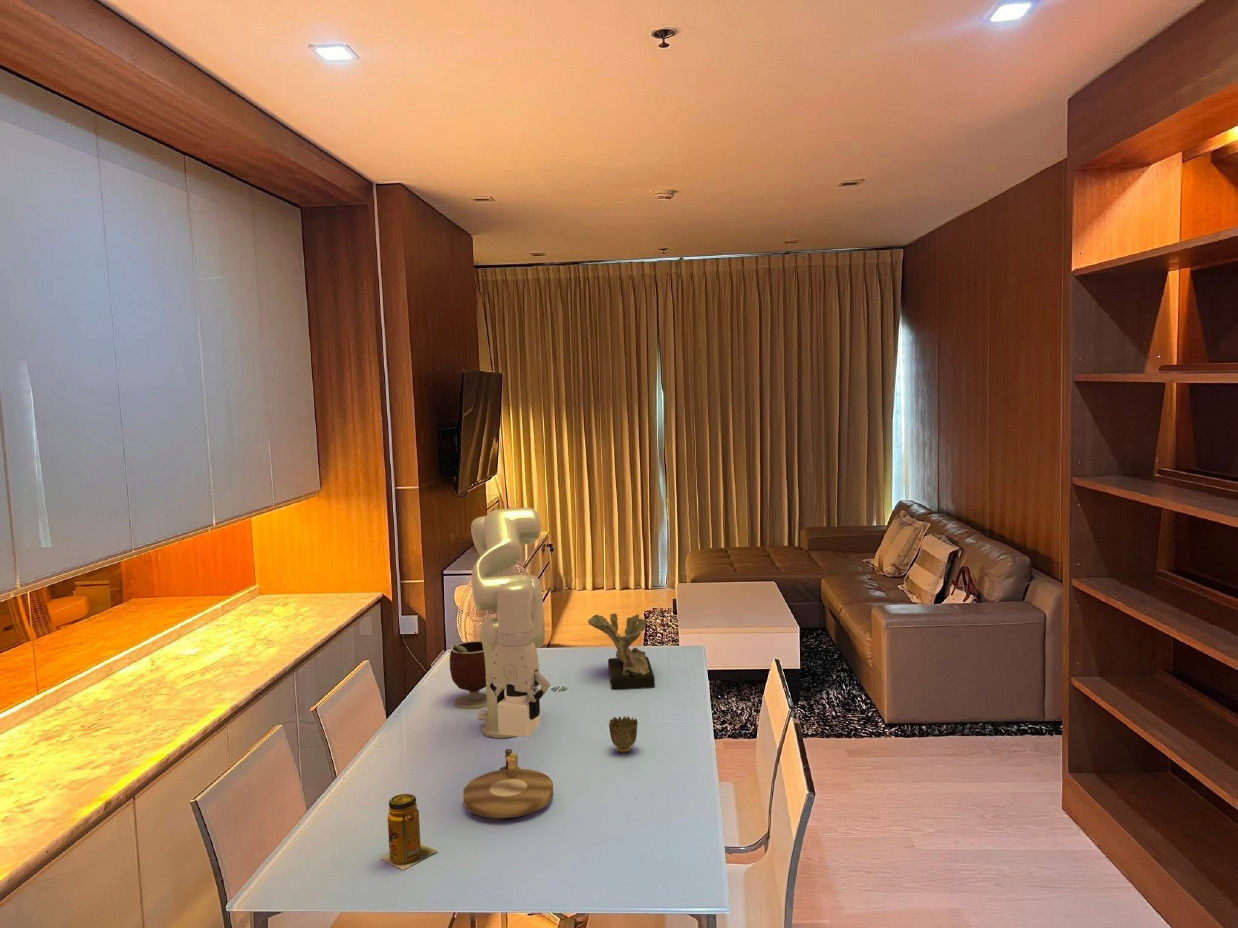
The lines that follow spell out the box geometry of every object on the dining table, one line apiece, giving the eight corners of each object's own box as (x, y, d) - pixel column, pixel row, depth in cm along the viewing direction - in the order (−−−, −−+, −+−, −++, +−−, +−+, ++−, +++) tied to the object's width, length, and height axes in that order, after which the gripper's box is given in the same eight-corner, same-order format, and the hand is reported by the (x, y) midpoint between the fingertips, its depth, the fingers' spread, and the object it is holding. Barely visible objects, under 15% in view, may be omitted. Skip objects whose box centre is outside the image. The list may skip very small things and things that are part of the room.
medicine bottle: (540, 725, 191) (538, 673, 190) (527, 737, 184) (525, 684, 183) (511, 722, 193) (509, 671, 192) (498, 734, 186) (495, 681, 186)
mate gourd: (469, 691, 264) (466, 629, 263) (506, 697, 258) (503, 633, 257) (438, 708, 251) (435, 642, 249) (476, 714, 244) (473, 647, 243)
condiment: (380, 858, 166) (377, 800, 166) (416, 841, 173) (413, 784, 172) (402, 870, 162) (399, 810, 161) (438, 852, 168) (435, 794, 167)
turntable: (548, 817, 178) (547, 789, 178) (454, 818, 179) (453, 791, 179) (557, 775, 198) (556, 751, 198) (473, 777, 199) (472, 753, 198)
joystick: (499, 769, 206) (498, 746, 206) (519, 767, 207) (518, 744, 206) (498, 781, 199) (497, 758, 199) (519, 780, 200) (518, 756, 199)
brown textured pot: (635, 758, 210) (634, 727, 209) (606, 756, 212) (605, 725, 211) (640, 746, 217) (639, 716, 217) (613, 744, 219) (612, 715, 218)
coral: (655, 691, 259) (653, 623, 257) (589, 694, 258) (587, 626, 257) (650, 667, 284) (648, 604, 282) (590, 669, 283) (588, 606, 282)
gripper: (473, 638, 188) (477, 715, 189) (539, 646, 180) (542, 726, 181) (493, 630, 194) (496, 704, 196) (557, 637, 187) (560, 714, 188)
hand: (518, 714), depth 188 cm, fingers closed on medicine bottle, 7 cm apart
